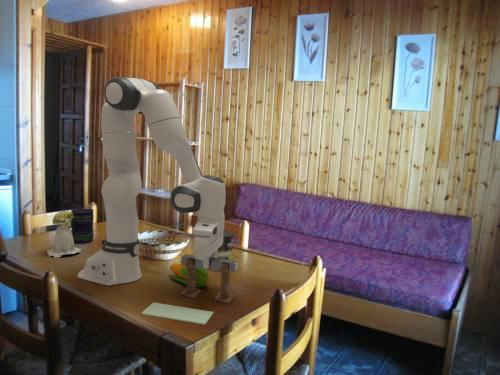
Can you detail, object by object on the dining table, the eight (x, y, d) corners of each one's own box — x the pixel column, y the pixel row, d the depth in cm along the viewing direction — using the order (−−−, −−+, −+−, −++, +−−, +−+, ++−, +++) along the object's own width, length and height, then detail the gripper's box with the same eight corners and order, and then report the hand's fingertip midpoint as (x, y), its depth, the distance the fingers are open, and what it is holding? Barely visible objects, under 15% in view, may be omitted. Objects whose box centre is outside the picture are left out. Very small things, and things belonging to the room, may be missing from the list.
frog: (86, 254, 174) (86, 212, 172) (55, 260, 164) (56, 215, 162) (72, 247, 182) (73, 207, 179) (43, 253, 172) (42, 210, 170)
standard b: (214, 300, 135) (216, 264, 133) (220, 293, 140) (221, 259, 139) (229, 302, 133) (231, 266, 132) (234, 295, 139) (236, 260, 138)
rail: (180, 264, 137) (180, 256, 137) (183, 262, 140) (184, 253, 140) (235, 272, 133) (235, 263, 133) (237, 269, 136) (238, 260, 136)
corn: (200, 271, 139) (162, 257, 152) (198, 293, 140) (160, 277, 152) (215, 267, 145) (177, 254, 157) (213, 288, 146) (176, 274, 158)
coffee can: (234, 264, 172) (236, 231, 170) (228, 272, 162) (230, 237, 160) (211, 261, 174) (212, 229, 172) (203, 269, 164) (205, 234, 162)
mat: (141, 314, 122) (141, 312, 122) (153, 303, 130) (153, 302, 129) (205, 324, 118) (205, 323, 117) (213, 313, 125) (213, 311, 125)
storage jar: (88, 245, 187) (88, 213, 185) (66, 243, 187) (66, 211, 185) (96, 239, 197) (96, 208, 195) (76, 238, 197) (76, 207, 195)
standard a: (180, 295, 137) (181, 259, 135) (187, 288, 143) (188, 254, 141) (194, 297, 136) (196, 261, 134) (200, 290, 142) (202, 256, 140)
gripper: (211, 217, 146) (209, 255, 147) (190, 230, 126) (189, 273, 128) (228, 219, 144) (226, 257, 146) (210, 232, 124) (208, 276, 126)
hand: (208, 265), depth 137 cm, fingers open, 4 cm apart
